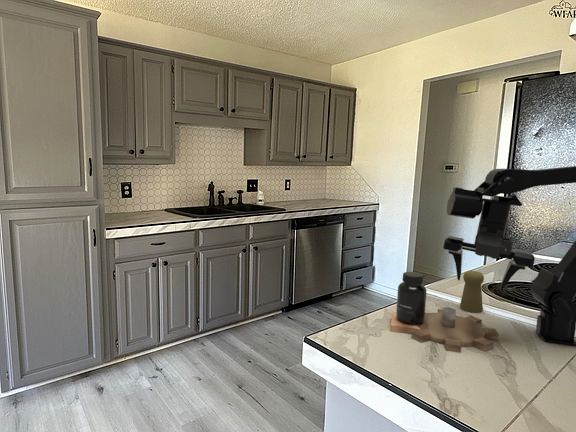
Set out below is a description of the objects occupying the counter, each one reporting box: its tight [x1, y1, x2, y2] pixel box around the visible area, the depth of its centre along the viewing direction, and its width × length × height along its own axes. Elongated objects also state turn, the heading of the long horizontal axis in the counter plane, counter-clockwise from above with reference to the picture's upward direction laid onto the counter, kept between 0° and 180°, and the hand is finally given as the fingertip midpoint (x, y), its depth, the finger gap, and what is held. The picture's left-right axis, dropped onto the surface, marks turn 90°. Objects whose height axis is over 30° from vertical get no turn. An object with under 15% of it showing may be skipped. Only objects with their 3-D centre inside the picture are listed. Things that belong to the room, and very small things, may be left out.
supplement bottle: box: [395, 271, 427, 325], centre depth 93 cm, size 7×7×12 cm
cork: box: [459, 270, 485, 314], centre depth 105 cm, size 6×6×11 cm
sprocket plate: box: [389, 306, 500, 353], centre depth 91 cm, size 24×21×6 cm
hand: (479, 285), depth 89 cm, fingers open, 9 cm apart
